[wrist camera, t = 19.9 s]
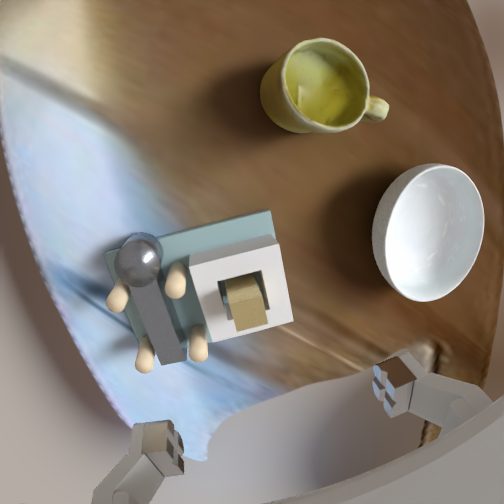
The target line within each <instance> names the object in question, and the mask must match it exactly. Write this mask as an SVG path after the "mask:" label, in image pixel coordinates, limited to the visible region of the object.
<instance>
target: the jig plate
mask: <svg viewBox="0 0 504 504" xmlns="http://www.w3.org/2000/svg"><path fill="white" fill-rule="evenodd" d="M157 239H158V240H159V242H160V243H161V245H162V248H163V253H164V254H163V260H162V263H161V268H162V271H163V274H164V277H165V280H166V284H165V292H166V294H167V295H168V296H169V297H170V298H172V301H173V304H174V307H175V309H176V312H177V315H178V318H179V321H180V323H181V326H182V329H183V331H184V334H185V337H186V339H187V348H188V347H189V357H190V358H191V360H193V361H195V362H203V361H205V360H206V359H207V357H208V349H207V343H209V342H216V341H221V340H225V339H229V338H233V337H237V336H240V335H244V334H248V333H252V332H256V331H259V330H263V329H267V328H270V327H274V326H278V325H281V324H285V323H288V322H292V321H293V316H292V311H291V305H290V300H289V294H288V289H287V284H286V278H285V273H284V268H283V263H282V257H281V252H280V247H279V243H278V242H277V241H276V237H275V232H274V227H273V222H272V217H271V212H270V210H269V209H267V210H262V211H258V212H254V213H250V214H246V215H242V216H238V217H234V218H230V219H226V220H222V221H218V222H214V223H210V224H206V225H202V226H198V227H194V228H191V229H187V230H183V231H179V232H175V233H172V234H168V235H164V236H161V237H157ZM119 249H120V248H117V249H114V250H111V251H107V252H105V253H104V257H105V260H106V263H107V266H108V268H109V271H110V274H111V277H112V279H113V282H114V284H115V286H114V287H113V289H112V291H111V293H110V294H109V296H108V298H107V300H106V305H107V307H108V309H109V310H111V311H112V312H115V313H119V312H121V311H123V309H124V310H125V312H126V315H127V317H128V319H129V322H130V324H131V326H132V329H133V331H134V333H135V335H136V338H137V340H138V342H139V344H140V346H139V350H138V354H137V358H136V362H135V368H136V369H137V370H138V371H139V372H141V373H149V372H150V371H151V370H152V368H153V362H154V356H155V354H156V352H155V350H154V347H153V345H152V343H151V341H150V338H149V336H148V334H147V331H146V329H145V326H144V324H143V322H142V319H141V317H140V314H139V312H138V309H137V307H136V304H135V302H134V299H133V296H132V294H131V291H130V288H129V286H128V285H127V284H125V283H124V282H123V281H122V280H121V279H120V278H119V277H118V275H117V274H116V271H115V268H114V259H115V256H116V254H117V252H118V251H119ZM248 273H253V276H254V278H255V280H256V283H257V285H258V287H259V290H260V292H261V294H262V297H263V302H264V306H265V311H266V315H267V320H268V324H266V325H262V326H258V327H254V328H251V329H247V330H243V331H239V332H237V331H236V327H235V323H234V320H233V316H232V313H231V309H230V305H229V301H228V296H227V291H226V286H225V281H224V280H225V279H229V278H232V277H236V276H240V275H244V274H248Z"/></svg>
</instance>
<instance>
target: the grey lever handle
mask: <svg viewBox="0 0 504 504" xmlns="http://www.w3.org/2000/svg"><path fill="white" fill-rule="evenodd" d="M163 254H164V253H163V248H162V245H161V243H160V242H159V240H158V239H157V238H156V237H154V236H153V235H151V234H148V233H136V234H134V235H132V236H130V237H129V238H128V239H127V241H126V242H125V243H124V244H123V246H122V247H121V248H120V249H119V251H118V252H117V254H116V256H115V259H114V268H115V271H116V274H117V275H118V277H119V278H120V279H121V280H122V281H123V282H124V283H125V284H127V285H128V286H129V288H130V291H131V294H132V296H133V299H134V302H135V304H136V307H137V309H138V312H139V314H140V317H141V319H142V322H143V324H144V326H145V329H146V331H147V334H148V336H149V338H150V341H151V343H152V345H153V347H154V350H155V352H156V354H157V356H158V359H159V361H160V363H161V365H166V364H171V363H176V362H181V361H186V360H187V339H186V337H185V334H184V331H183V329H182V326H181V323H180V321H179V318H178V315H177V312H176V309H175V307H174V304H173V301H172V298H170V297H169V296H168V295H167V294H166V292H165V284H166V280H165V277H164V274H163V271H162V268H161V263H162V260H163Z"/></svg>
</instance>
